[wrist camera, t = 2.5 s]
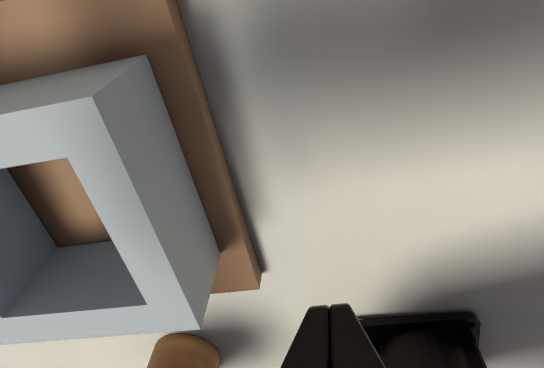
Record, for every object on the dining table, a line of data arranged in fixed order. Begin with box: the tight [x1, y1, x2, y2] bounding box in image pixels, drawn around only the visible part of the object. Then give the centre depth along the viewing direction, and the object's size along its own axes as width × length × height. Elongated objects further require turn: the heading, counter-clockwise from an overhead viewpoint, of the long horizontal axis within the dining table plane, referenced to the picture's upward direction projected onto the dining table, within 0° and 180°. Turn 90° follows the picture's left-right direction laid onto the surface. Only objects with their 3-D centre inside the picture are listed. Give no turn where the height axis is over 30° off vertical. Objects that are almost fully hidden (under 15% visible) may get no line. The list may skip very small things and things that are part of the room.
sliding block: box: [0, 55, 221, 345], centre depth 15 cm, size 9×9×4 cm
